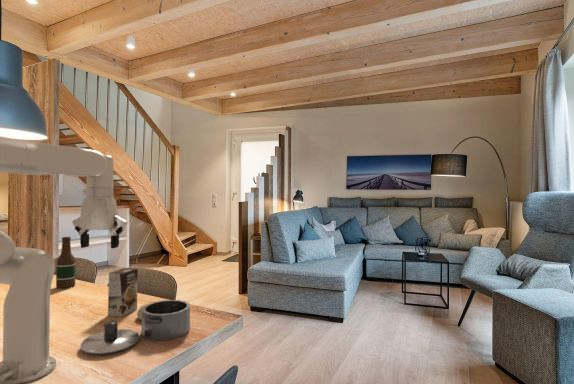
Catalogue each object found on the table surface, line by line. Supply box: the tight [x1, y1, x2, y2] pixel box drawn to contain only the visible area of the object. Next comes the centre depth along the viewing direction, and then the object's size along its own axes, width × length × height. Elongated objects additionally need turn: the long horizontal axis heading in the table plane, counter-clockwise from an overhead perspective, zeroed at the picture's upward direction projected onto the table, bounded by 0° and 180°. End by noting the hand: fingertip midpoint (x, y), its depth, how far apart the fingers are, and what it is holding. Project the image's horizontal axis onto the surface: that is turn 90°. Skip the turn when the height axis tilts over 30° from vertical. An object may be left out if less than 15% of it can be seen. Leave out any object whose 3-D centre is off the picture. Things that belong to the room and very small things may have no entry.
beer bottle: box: [55, 236, 76, 289], centre depth 164 cm, size 8×8×24 cm
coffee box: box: [107, 267, 139, 318], centre depth 132 cm, size 9×6×16 cm
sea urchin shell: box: [136, 303, 149, 321], centre depth 127 cm, size 9×8×8 cm
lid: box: [80, 320, 140, 355], centre depth 104 cm, size 16×16×7 cm
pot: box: [141, 299, 191, 342], centre depth 115 cm, size 19×15×8 cm
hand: (99, 247), depth 109 cm, fingers open, 9 cm apart
